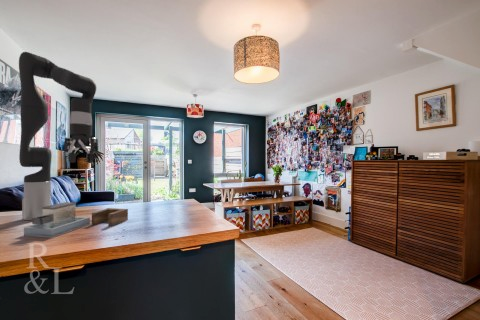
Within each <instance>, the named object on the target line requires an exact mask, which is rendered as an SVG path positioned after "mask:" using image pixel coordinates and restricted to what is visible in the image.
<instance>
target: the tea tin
mask: <svg viewBox="0 0 480 320" xmlns="http://www.w3.org/2000/svg"><path fill="white" fill-rule="evenodd" d="M76 205H77V203H76V202H65V201H64V202H61V203H56V204H51V205H50V206H45V207H42V209H43V216H40V217H36V218H32V220H31V225H34V224H39V225H42V224H43V228H55V227H58V226H62V225H65V224H68V223H71V222H74V221H75V217H76V213H77V212H76V210H77V209H76Z"/></svg>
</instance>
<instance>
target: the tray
mask: <svg viewBox="0 0 480 320" xmlns="http://www.w3.org/2000/svg"><path fill="white" fill-rule="evenodd" d="M90 221H91V219H90V217H87V216H75V221H74V222H71V223H68V224H65V225H62V226H58V227H55V228H43V224H42V225H39V224H31V225H28V226H24V227H23V236H25V237H36V238H37V237H38V238H50V239H53V238H55V237H58V236H61V235H65V234H67V233H69V232H71V231H75V230H77V229H82V228H84V227H86V226H90Z"/></svg>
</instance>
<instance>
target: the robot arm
mask: <svg viewBox="0 0 480 320" xmlns="http://www.w3.org/2000/svg"><path fill="white" fill-rule="evenodd" d="M18 71H19V79H20V146H19V156H18V157H19V164H20V166H21V167H23V168H41V169H40V170H38V171H36V172H34V173H30V174H26V175H24V176H23V198H22V199H21V206H22V207H21V208H22V210H21V218H22V220H24V221H32V218H36V217H40V216H43V209H42V207H45V206H50V205H52V204H51V202H52V201H51V196H52V194H51V189H52V188H51V183H52V182H51V181H52V179H51V176H52V175H51V171H52V170H51V169H52V168H51V167H52V150H51V149H50V148H49V147H42V146H41V147H39V146H38V147H37V146H30V145H31V143H32V141H33V138H35V136H36V134H37V133H39V131H40V130H41V129H42V128H43V127H44V126H45V125H46V123H47V121H48V119H49V105H48V103H47V102H46V100H45V98H44V96H43V95H42V94H41V93H40V91H39V90H38V87H37V86H36V83H35V77H39V78H42V79H51V80H53V81H54V82H56V83H57V84H59V85H61V86H62V87H65V89H67V90H70V91H72V92H76V93H79V94H82V95H81V97H73V98H71V100H70V113H69V114H70V115H69V135H71V137H64V145H63V146H64V148H63V151H64V152H65V153H67V154H68V162H69V163H76V159H77V158H76V157H77V155H76V152H77V151H79V149H83V150H85V152H86V163H87V164H93V162H94V154H95V153H98V152H99V141H98V138H97V137H92V136H93V117H92V104H93V101H94V98H95V95H96V92H97V84H96V82H95V80H94V79H92V78H89V77H87V76H84V75H80V74H78V73H75V72H74V71H72V70H69V69H66V68H65V67H64V68H63V67H60V66H58V65H57V64H55V63H54V62H53V61H51V60H49V59H47V58H46V57H43V56H41V55H37V54H35V53H32V52H28V51H22V52H21V53H20V55H19V57H18Z"/></svg>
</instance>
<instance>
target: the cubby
mask: <svg viewBox="0 0 480 320" xmlns="http://www.w3.org/2000/svg"><path fill="white" fill-rule="evenodd" d="M128 216H129V208H119V207H117V208H116V207H108V208H105V209H100V210H98V211H94V212H91V225H92V226H93V225H94V226H97V225H100V224H103V223H105V222H108V225H107V226H108V227H114V226H116V225H118V224H120V223H123V222H125V221H128V218H129V217H128Z"/></svg>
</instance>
